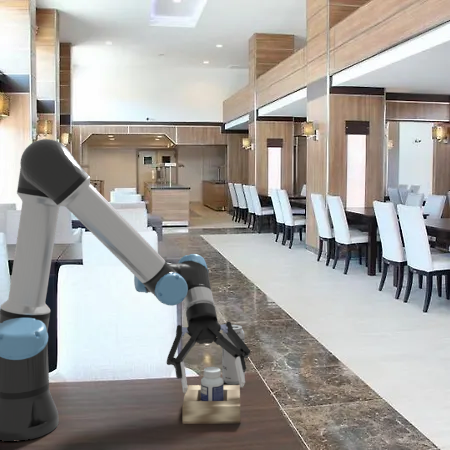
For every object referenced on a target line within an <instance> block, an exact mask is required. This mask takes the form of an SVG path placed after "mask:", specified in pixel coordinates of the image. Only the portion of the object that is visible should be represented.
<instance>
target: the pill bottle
mask: <svg viewBox="0 0 450 450" xmlns="http://www.w3.org/2000/svg"><path fill="white" fill-rule="evenodd" d="M221 373H222V370H221V368H220V367H218V366H207V367H205V368H204V369H203V377H202V378H201V379H200V385H201V401H223V399H224V398H223V386H224V385H225V384H224V383H225V381H224V380H223V378H222V375H221Z"/></svg>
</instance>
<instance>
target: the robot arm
mask: <svg viewBox="0 0 450 450" xmlns="http://www.w3.org/2000/svg"><path fill="white" fill-rule="evenodd" d="M21 154H22V155H21V158H20V168H19V176H18V181H17V188H16V189H17V190H16V194H17V196H18V197H19V198H20V199H21V202H22V203H21V210H20V216H19V222H18V228H17V229H18V231H17V237H16V245H15V250H14V256H13V257H14V258H13V263H12V264H13V265H12V271H11V272H12V273H11V277H10V285H9V293H8V298H7V300H6V301H4V302H3V303H2V304H1V305H0V440H3V441H2V442H4V441H14V440H25V441H29V440H28V439H30V440H33V439H37V438H40V437H43V436H45V435H47V434H49V433H51V432H53V431H54V430H55V429H56V428H57V427H58V425H59V423H60V421H59V412H58V408H57V406H56V403H55V401H54V399H53V396H52V394H51V391H50V374H49V372H50V371H49V354H48V353H49V351H48V349H49V347H48V342H49V333H48V329H49V322H50V317H51V309H50V307H49V305H47V304H46V299H47V293H48V287H49V278H50V272H51V265H52V258H53V251H54V245H55V239H56V232H57V225H58V218H59V211H60V207H65V208H66V209H67V210H68V211H69V212H70V213H71V214H72V215H73V216H74V217H75V218H76V219H77V220H78V221H79V222H80V223H81V224H82V225H83V226H84V227H85V228H86V229H87V230H88V231H89V232H91V234H92V235H94V237H96V239H97V240H99V242H100V243H102V245H103V246H104V247H105V248H107V250H109V251H110V253H111V254H112V255H113V256H114V257H115V258H116V259H117V260H119V261H120V263H122V265H124V266H125V267H126V269H128V271H130V272H131V273H132V274H133V277H134V278H133V283H134V289H135V290H136V292H138V293H145V294H148V293H151V294H153V295H154V297H155V298H156V299H157V300H158V301H159V302H160V303H162V304H163V305H166V306H170V307H171V306H172V307H173V306H177V305H179V304H181V303H182V302H183V301H184V302H183V303H184V309H185V315H186V317H185V318H186V321H187V327H186V326H182V325H181V324H178V325H177V326H176V330H175V337H174V340H173V343H172V345H171V347H170V349H169V352H168V356H167V358H166V365H167V366H173V367H174V369H175V377H176V379H181V380H180V381H181V386H182V393H183V394H185V393H186V392H187V389H188V386H187V385H188V381H187V375H186V374H187V373H186V367H185V361H184V360H185V358H186V357H187V355H188V354H189V353H190V351H191V350H192V348H193V347H194V346H195V345H196V343H197V344H199V345H203V344H212V343H213V342H214V343H215V344H216V345H217V346H220V347H221V349H222V348H223V349H225V350H226V351H227V352H228V353H230V354H231V355H232V356H233V357H234V358H236V360H235V366H236V370H237V375H238V380H239V384H238V385H240V388H244V386H245V384H246V379H245V378H244V374H243V372H245V373H246V370H247V366H246V362H245V361H246V360H244V359H248V358H249V356H250V354H251V350H250V348H249V347H248V346H247V345H246V344H245V343H244V342H245V341H244V342H243V341H242V340H241V338H240V337H239V336H238V335H237V333H236V332H235V331H234V330H233V328H232V325H233V324H232V323H231V321H226V323H224V324H221V323H219V322H218V316H217V312H216V311H217V310H216V306H215V302H214V301H215V300H214V296H213V292H212V286H211V282H210V281H211V280H210V276H209V270H208V266H207V265H208V264H207V263H206V260H205V258H204V257H203V256H201V255H199V254H197V253H190V254H189V255H184V256H182V257H181V258H180V259H179V260H178V262H177V263H168V262H167V261H166V260H165V259H164V257H162V256H161V255H160V253H159V252H157V250H156V249H155V248H154V247H153V246H152V245H150V243H149V242H147V240H146V239H145V238H144V237H143V236H142V235H141V233H139V232H138V231H137V230H136V228H134V227H133V225H132V224H130V222H128V220H126V218H125V217H123V215H122V214H121V213H120V212H119V211H118V210H117V209H116V208H115V207H114V206H113V205H112V204H111V203H110V202H109V200H107V199H106V198H105V196H103V195H102V194H101V193H100V192H99V190H97V189H96V187H94V185H92V184H91V176H90V175H89V174H88V173H87V172H86V170H85V169H84V168H82V166H81V165H80V164H79V162H78V161H77V160H76V158H75V157H74V156H73V154H72V153H71V152H70V150H69V148H68V147H66V146H65V145H64V144H63V143H61V142H60V141H57V140H55V139H51V138H49V139H48V138H45V139H39V140H36V141H35V140H34V141H33V142H32V143H30V144H29V145H28V146H27V147H26V148H25V149H24V151H23V152H22V153H21ZM221 331H222V332H224V333H226V334H227V336H228V337H229V339H230V340H231V341H232V342H233V344H234V345H235V346H236V347H235V346H234V345H233V344H232V343H231V342H229V341H228V340H227V339H226V338H224V337H223V335H222V333H221ZM185 334H187V335H188V336H189V339H188V341H187V342H186V343H185V345H184V346H183V348H182V349H181V350H180V351H179V354H178V355H176V353H177V350H178V347H179V345H180V342H181V340H182V339H181V338H182V337H184V336H185ZM175 355H176V357H175Z"/></svg>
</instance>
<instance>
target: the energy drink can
mask: <svg viewBox="0 0 450 450" xmlns="http://www.w3.org/2000/svg"><path fill="white" fill-rule="evenodd" d="M231 325H232V328H233V330H234V331H235V332H236V333H237V335H238V336H239V337H240V338H241V340H242V341H243V342H244V343H245V331H244V329H243V326H242V325H239V324H231ZM221 334H222V335H223V337H224V338H226V339H227V340H228V341H229V342H231V343H232V344H233V342H232V341H231V340H230V339H229V337H228V336H227V334H226V333H224V332H223V331H222V333H221ZM233 345H234V344H233ZM234 346H235V345H234ZM235 347H236V346H235ZM221 351H222V352H221V354H222V355H221V356H222V357H221V358H222V359H221V365H222V366H221V367H222V370H221V373H222V375H221V378H222V379H223V382H224V383H225V384H226V385H239V380H238V375H237V370H236V366H235V360H236V358H234V357H233V356H232V355H231V354H230V353H228V352H227V351H226V350H225V349H223V348H222V347H221ZM245 359H246V358H245ZM245 359H244V360H245ZM245 361H246V360H245ZM245 373H246V371H245V372H243V374H244V378H245V377H246V374H245Z"/></svg>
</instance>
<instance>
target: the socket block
mask: <svg viewBox="0 0 450 450" xmlns="http://www.w3.org/2000/svg"><path fill="white" fill-rule="evenodd" d="M223 385H224V386H223V398H224V399H223V401H201V384H200V385H199V384H197V385H196V384H194V385H193V384H191V385H190V384H189V385H188V384H187V386H188V389H187V392H186V393H184V396H183V402H182V424H183V425H186V424H189V425H190V424H191V425H193V424H196V425H198V424H199V425H200V424H207V425H209V424H212V425H213V424H220V425H221V424H241V387H240V385H239V384H235V385H233V384H223Z"/></svg>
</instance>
